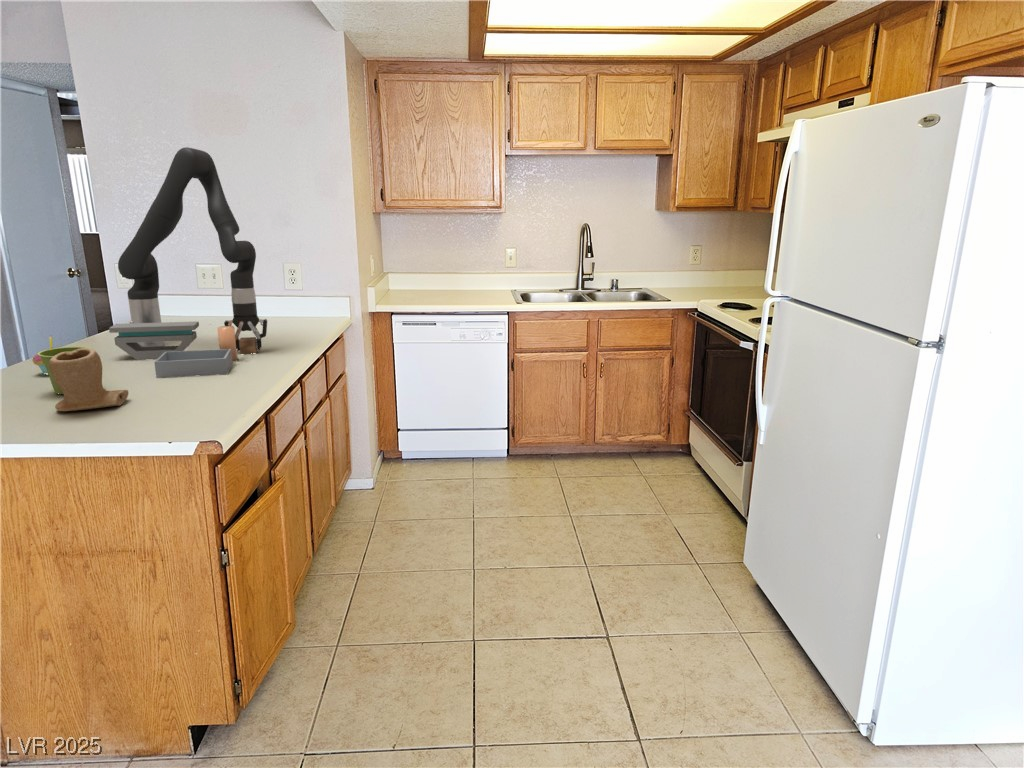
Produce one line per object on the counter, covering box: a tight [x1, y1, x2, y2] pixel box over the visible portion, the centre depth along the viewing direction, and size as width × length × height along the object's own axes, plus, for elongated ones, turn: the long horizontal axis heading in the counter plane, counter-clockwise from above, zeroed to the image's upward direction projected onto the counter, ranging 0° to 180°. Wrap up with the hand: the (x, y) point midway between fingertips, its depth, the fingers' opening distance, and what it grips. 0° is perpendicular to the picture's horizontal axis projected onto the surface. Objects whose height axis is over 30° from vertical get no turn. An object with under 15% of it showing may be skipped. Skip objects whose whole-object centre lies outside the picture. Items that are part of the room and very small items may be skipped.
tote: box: [154, 348, 233, 379], centre depth 199 cm, size 19×14×5 cm
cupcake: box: [31, 334, 54, 374], centre depth 192 cm, size 9×8×12 cm
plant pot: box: [37, 346, 91, 395], centre depth 174 cm, size 12×12×11 cm
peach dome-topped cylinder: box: [217, 325, 238, 362], centre depth 212 cm, size 5×5×11 cm
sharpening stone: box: [108, 320, 200, 361], centre depth 216 cm, size 25×8×11 cm, turn 105°
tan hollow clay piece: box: [49, 347, 129, 412], centre depth 160 cm, size 15×12×15 cm
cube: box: [239, 336, 258, 355], centre depth 224 cm, size 5×5×5 cm
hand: (248, 349), depth 225 cm, fingers open, 5 cm apart
